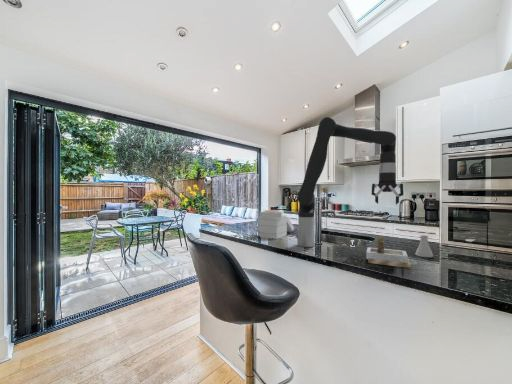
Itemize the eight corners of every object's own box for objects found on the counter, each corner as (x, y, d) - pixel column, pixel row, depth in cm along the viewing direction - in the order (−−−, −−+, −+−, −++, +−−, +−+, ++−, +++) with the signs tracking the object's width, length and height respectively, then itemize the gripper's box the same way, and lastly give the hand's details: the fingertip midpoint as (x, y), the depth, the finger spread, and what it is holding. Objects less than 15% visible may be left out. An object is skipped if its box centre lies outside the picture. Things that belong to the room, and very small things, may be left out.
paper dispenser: (296, 232, 181) (296, 209, 181) (277, 240, 156) (277, 212, 156) (274, 230, 192) (274, 208, 192) (253, 237, 167) (253, 211, 167)
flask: (425, 258, 112) (425, 237, 112) (411, 254, 119) (411, 234, 119) (437, 257, 114) (437, 236, 114) (422, 253, 121) (422, 234, 121)
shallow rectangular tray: (366, 258, 108) (366, 252, 108) (367, 253, 117) (367, 247, 117) (407, 263, 101) (407, 256, 101) (405, 257, 109) (405, 250, 109)
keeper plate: (368, 262, 107) (368, 238, 107) (369, 256, 117) (369, 233, 117) (410, 267, 99) (410, 241, 99) (407, 260, 110) (407, 236, 110)
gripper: (371, 172, 121) (370, 203, 121) (404, 171, 114) (403, 204, 114) (372, 173, 127) (371, 203, 128) (403, 172, 120) (402, 204, 121)
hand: (386, 203), depth 121 cm, fingers open, 8 cm apart
